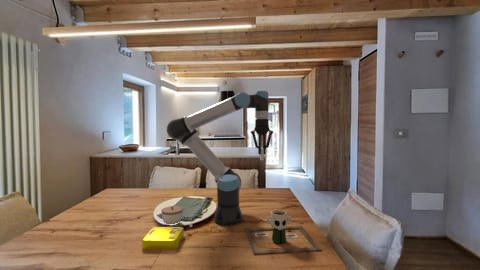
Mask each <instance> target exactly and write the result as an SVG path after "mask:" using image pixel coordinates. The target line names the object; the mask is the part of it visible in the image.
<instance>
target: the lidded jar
mask: <svg viewBox="0 0 480 270" xmlns="http://www.w3.org/2000/svg"><path fill="white" fill-rule="evenodd" d="M183 212H184V209H183V207H182V206H179V205H171V206H170V205H169V206H166V207H164V208H161V219H162V221H163V223H164V224H165V223H166V224H175V223H178V222H179V223H180V222H181V221H182V219H183ZM166 224H165V225H166Z"/></svg>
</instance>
